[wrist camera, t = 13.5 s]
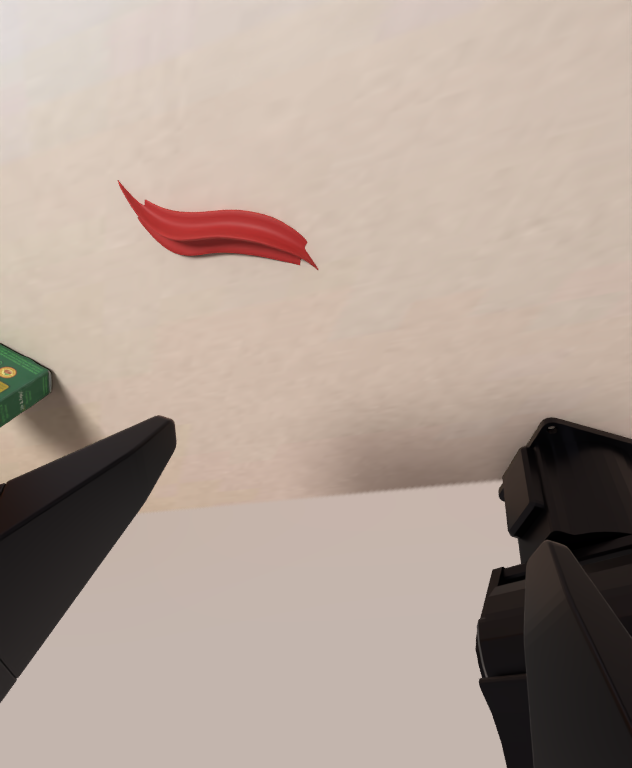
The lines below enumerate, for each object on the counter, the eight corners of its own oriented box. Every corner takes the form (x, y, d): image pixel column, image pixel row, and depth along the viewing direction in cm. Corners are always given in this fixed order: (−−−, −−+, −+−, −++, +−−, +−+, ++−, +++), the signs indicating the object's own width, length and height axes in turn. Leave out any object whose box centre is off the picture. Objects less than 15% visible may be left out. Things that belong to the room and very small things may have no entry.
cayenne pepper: (114, 211, 23) (89, 219, 21) (124, 122, 20) (97, 124, 18) (301, 321, 23) (289, 336, 22) (338, 250, 20) (327, 263, 19)
